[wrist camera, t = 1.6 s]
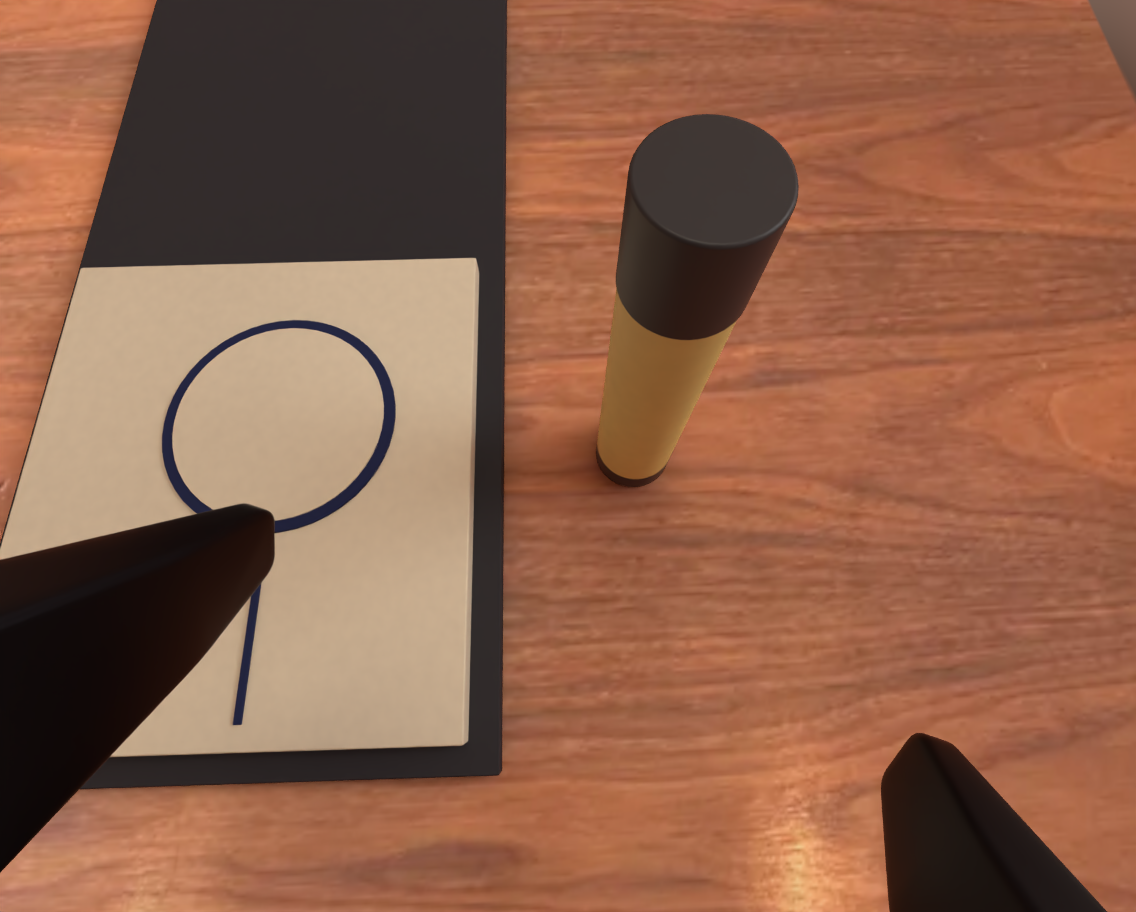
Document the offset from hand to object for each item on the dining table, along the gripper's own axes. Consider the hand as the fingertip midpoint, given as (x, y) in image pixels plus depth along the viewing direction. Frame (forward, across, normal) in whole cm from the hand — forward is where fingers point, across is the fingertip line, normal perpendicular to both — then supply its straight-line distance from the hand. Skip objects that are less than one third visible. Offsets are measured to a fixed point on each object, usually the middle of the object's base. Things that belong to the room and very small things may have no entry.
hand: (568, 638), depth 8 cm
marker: (+15, 0, +4) cm, 16 cm away
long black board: (+26, +21, -7) cm, 34 cm away
